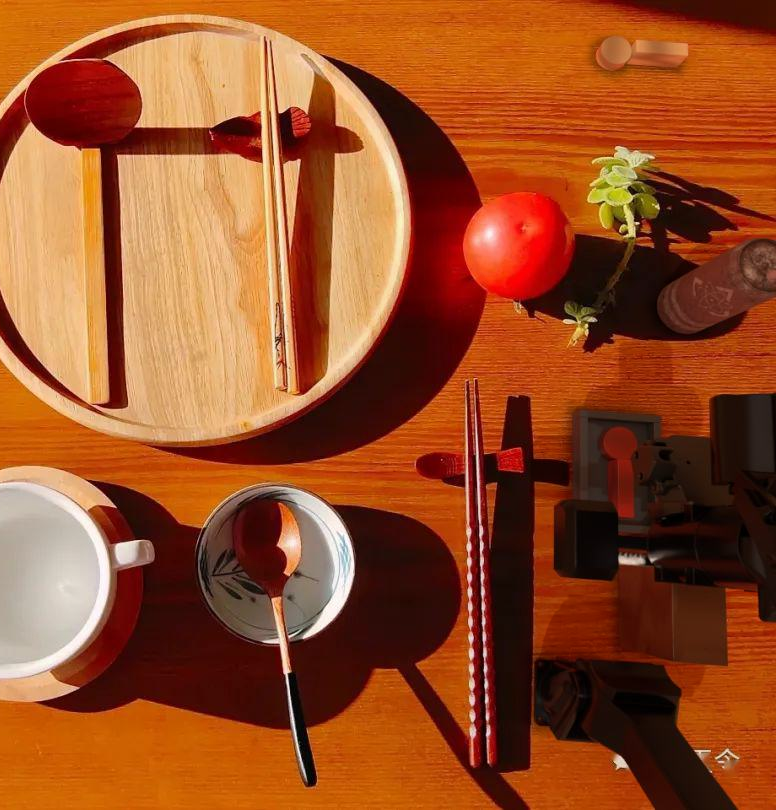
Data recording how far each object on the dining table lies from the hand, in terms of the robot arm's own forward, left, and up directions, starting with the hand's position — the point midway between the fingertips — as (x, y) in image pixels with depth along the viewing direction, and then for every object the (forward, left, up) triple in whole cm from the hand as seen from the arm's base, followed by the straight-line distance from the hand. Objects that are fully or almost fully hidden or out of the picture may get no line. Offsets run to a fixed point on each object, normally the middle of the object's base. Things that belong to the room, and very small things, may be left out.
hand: (622, 545), depth 69 cm
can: (+27, -13, -12) cm, 32 cm away
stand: (-5, -8, -12) cm, 15 cm away
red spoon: (+8, -5, -11) cm, 15 cm away
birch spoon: (+58, -8, -12) cm, 59 cm away
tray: (+8, -5, -12) cm, 15 cm away
